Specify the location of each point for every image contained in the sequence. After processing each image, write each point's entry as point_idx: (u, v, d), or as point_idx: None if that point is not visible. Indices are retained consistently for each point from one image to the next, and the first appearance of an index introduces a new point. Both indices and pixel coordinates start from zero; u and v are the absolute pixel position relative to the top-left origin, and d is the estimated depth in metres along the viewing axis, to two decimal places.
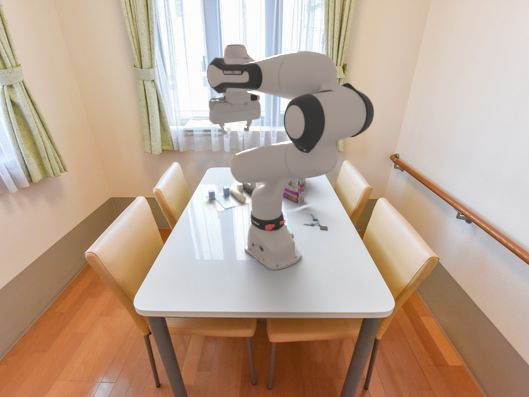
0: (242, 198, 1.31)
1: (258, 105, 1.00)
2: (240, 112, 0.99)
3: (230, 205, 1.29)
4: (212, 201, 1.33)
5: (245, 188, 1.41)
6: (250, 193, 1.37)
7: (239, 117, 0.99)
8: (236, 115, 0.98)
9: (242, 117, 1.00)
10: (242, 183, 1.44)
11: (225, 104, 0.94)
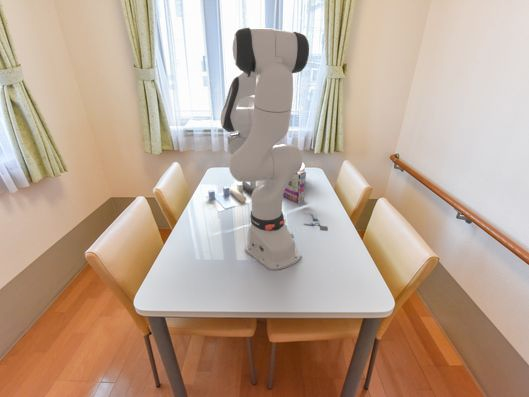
0: (242, 198, 1.31)
1: None
2: None
3: (230, 205, 1.29)
4: (212, 201, 1.33)
5: (245, 188, 1.41)
6: (250, 193, 1.37)
7: None
8: None
9: None
10: (242, 183, 1.44)
11: (240, 139, 1.22)
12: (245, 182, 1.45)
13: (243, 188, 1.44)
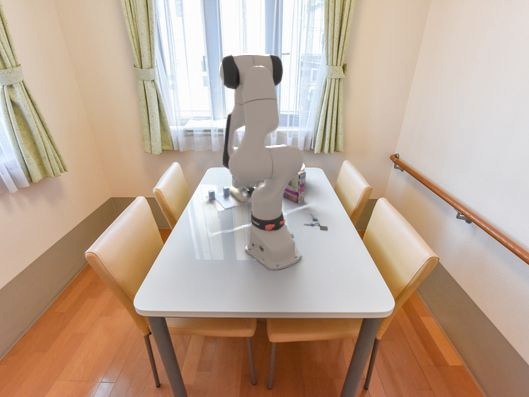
0: (242, 198, 1.31)
1: None
2: None
3: (230, 205, 1.29)
4: (212, 201, 1.33)
5: None
6: (250, 193, 1.37)
7: (253, 181, 1.36)
8: (251, 180, 1.35)
9: (255, 181, 1.37)
10: None
11: None
12: None
13: (243, 188, 1.44)
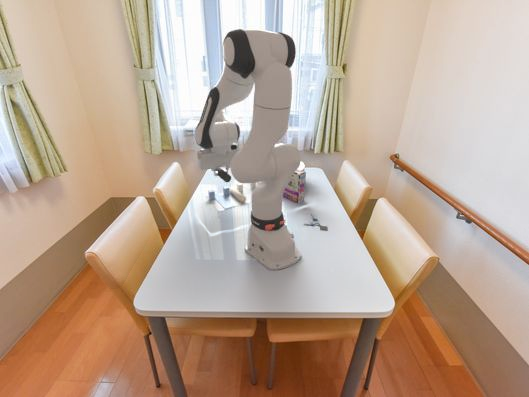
0: (242, 198, 1.31)
1: None
2: (223, 159, 1.22)
3: (230, 205, 1.29)
4: (212, 201, 1.33)
5: None
6: (219, 176, 1.24)
7: (223, 163, 1.23)
8: (220, 161, 1.22)
9: (225, 162, 1.23)
10: None
11: (210, 154, 1.18)
12: None
13: None
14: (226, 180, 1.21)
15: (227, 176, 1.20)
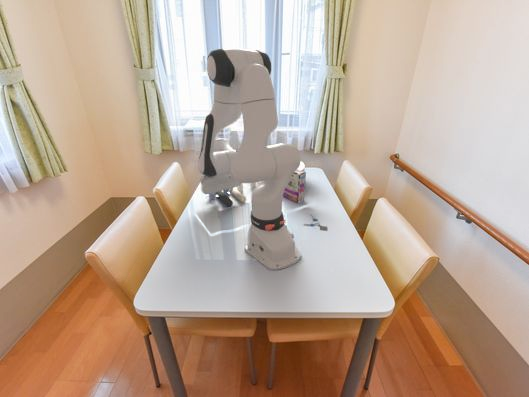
0: (242, 198, 1.31)
1: None
2: (225, 183, 1.28)
3: None
4: (212, 201, 1.33)
5: None
6: (221, 200, 1.30)
7: (225, 187, 1.28)
8: (222, 186, 1.27)
9: (227, 186, 1.29)
10: None
11: (213, 179, 1.23)
12: None
13: None
14: (228, 205, 1.27)
15: (229, 201, 1.26)
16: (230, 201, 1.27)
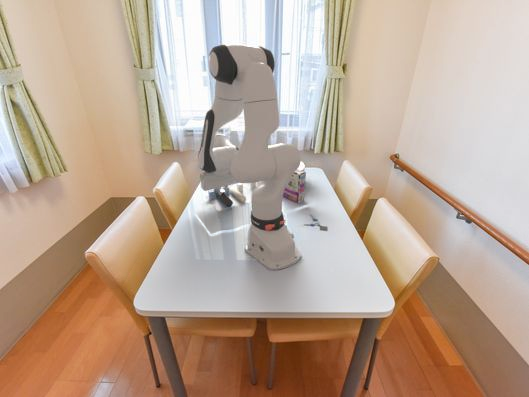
0: (242, 198, 1.31)
1: None
2: (225, 179, 1.27)
3: None
4: (212, 201, 1.33)
5: (217, 195, 1.34)
6: (221, 200, 1.30)
7: (224, 183, 1.27)
8: (221, 182, 1.26)
9: (227, 183, 1.28)
10: (214, 189, 1.37)
11: (212, 176, 1.22)
12: None
13: None
14: (228, 205, 1.27)
15: (229, 201, 1.26)
16: (230, 201, 1.27)
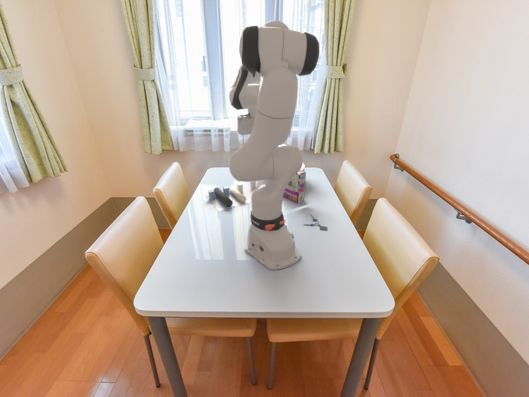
0: (242, 198, 1.31)
1: None
2: None
3: None
4: (212, 201, 1.33)
5: (217, 195, 1.34)
6: (221, 200, 1.30)
7: None
8: None
9: None
10: (214, 189, 1.37)
11: (250, 119, 1.20)
12: (217, 188, 1.37)
13: None
14: (228, 205, 1.27)
15: (229, 201, 1.26)
16: (230, 201, 1.27)
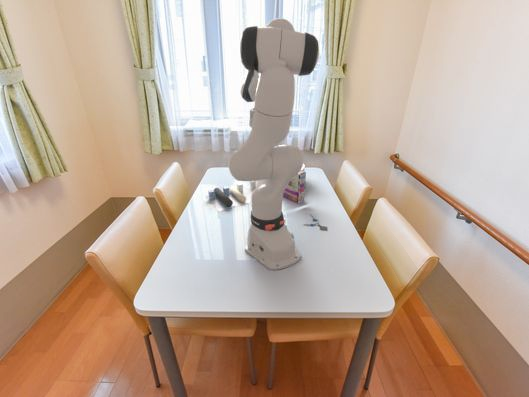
0: (242, 198, 1.31)
1: None
2: None
3: None
4: (212, 201, 1.33)
5: (217, 195, 1.34)
6: (221, 200, 1.30)
7: None
8: None
9: None
10: (214, 189, 1.37)
11: None
12: (217, 188, 1.37)
13: None
14: (228, 205, 1.27)
15: (229, 201, 1.26)
16: (230, 201, 1.27)
